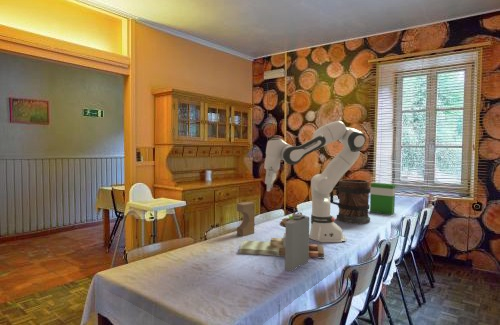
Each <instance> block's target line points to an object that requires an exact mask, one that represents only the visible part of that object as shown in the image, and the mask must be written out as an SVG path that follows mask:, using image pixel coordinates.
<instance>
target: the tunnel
mask: <svg viewBox="0 0 500 325" xmlns="http://www.w3.org/2000/svg"><path fill="white" fill-rule="evenodd" d="M285 241H286V232H284V233H283V249H285Z"/></svg>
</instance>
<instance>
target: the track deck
mask: <svg viewBox="0 0 500 325" xmlns="http://www.w3.org/2000/svg"><path fill="white" fill-rule="evenodd" d="M239 254H247V255H249V254H250V255H264V256H278V257H281V256H282V257H285V249H283V248H272V247H270V241H258V240H256V241H255V240H243V241H242V244H241V245H240V247H239ZM310 257H324V258H325V251H324V245H323V244H314V243H313V244H312V243H311V244H310V243H309V258H310Z"/></svg>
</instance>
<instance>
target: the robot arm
mask: <svg viewBox="0 0 500 325" xmlns="http://www.w3.org/2000/svg"><path fill="white" fill-rule="evenodd" d="M312 134H313V135H312V138H311V139H310V140H308V141H306V142H305V143H302V144H301V145H297V146H296V145H295V146H294V145H291V144H289V143H287V142H286V141H284V140H283V139H282V138H281V137H278V138H277V137H273V138H270V139H268V141H267V144H266V147H265V148H266V149H265V158H264V166H263V169H265V171H266V172H265V178H264V184H265V185H266V192H270V191H271V189H273V185H274V182H275V180H276V178H277V174H278V171H279V170H280V167H281V161H283V162H286V163H287V164H288V165H291V166H294V165H297V164H299V163H300V162H301V161H302V160H303V159H305V157H306V156H308V155H309V154H311V153H313V152H315V151H317V150H319V149H320V148H323V147H326V146H327V145H331V144H332V143H334V142H339V143H341V144H342V145H343V147H342V149H341V151H339V152H338V153H337V154H336V155H335V156H333V157H332V159H331V160H330V162H328V163H327V165H326V166H325V169H324V170H323V171H322V172H321V173H317V174H315V175H313V176H312V177H311V178H310V179H311V180H310V191H311V215H310V224H311V225H310V229H309V240H310V239H311V240H313V241H316V242H319V243H343V242H342V241H345V242H346V241H347V236H346V235H344V233H343V230H342V228H341V226H340V225H339V224H337V223H336V222H335V221H336V219H335V217H334V216H332V215H331V203H330V192H331V191H332V190H333V188H334V187H336V185H337V184H338V183H339V180H341V178H342V177H343V176H344V175H345V174H346V173H347V172H348V171H349V170H350V168H352V167H353V165H354V164H355V163H356V162H357V160H358V159H359V157H360V155H361V152H360V151H361V150H362V149H363V147H364V146H365V145H366V142H367V137H366V134H364V133H363V132H362V131H360V130H359V129H355V128H353V127H349V126H346V125H345V123H344V122H343V121H340V120H336V121H332V122H330V123H327V124H324V125H322V126H321V127H319V128H317V129H316V130H314V132H313V133H312ZM333 191H334V190H333Z"/></svg>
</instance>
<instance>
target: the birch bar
mask: <svg viewBox="0 0 500 325" xmlns="http://www.w3.org/2000/svg"><path fill="white" fill-rule="evenodd" d="M269 242H270V247H272V248H283V238H282V237H271V238H270V241H269Z"/></svg>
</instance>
